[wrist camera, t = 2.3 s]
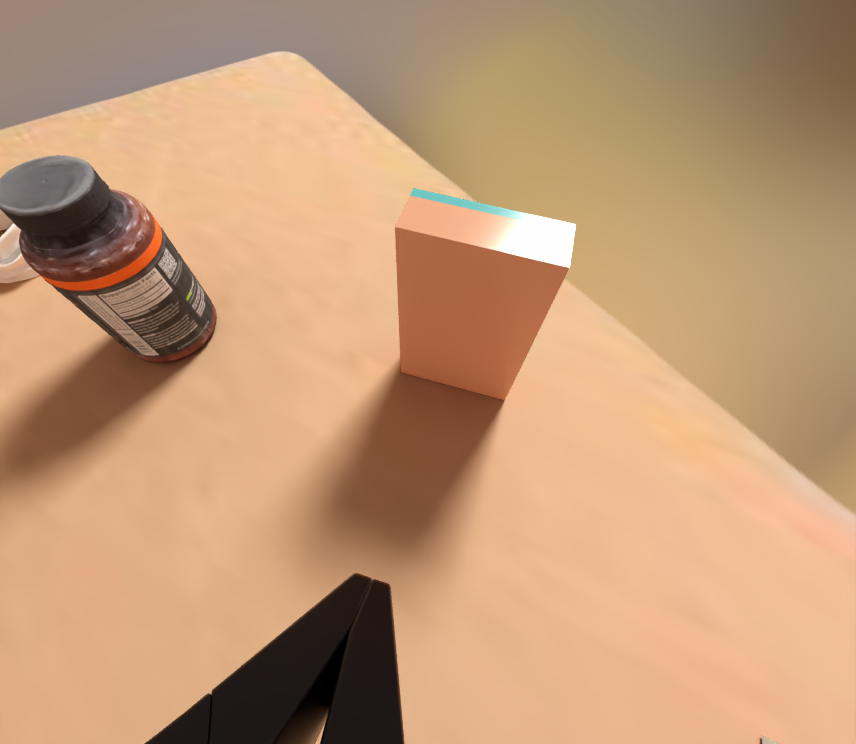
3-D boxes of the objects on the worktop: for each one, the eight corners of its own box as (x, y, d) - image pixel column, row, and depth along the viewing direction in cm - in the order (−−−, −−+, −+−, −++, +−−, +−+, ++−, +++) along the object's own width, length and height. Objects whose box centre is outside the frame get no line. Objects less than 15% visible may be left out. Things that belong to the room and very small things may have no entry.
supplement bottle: (120, 313, 28) (-38, 158, 18) (208, 283, 30) (106, 127, 20) (136, 380, 26) (-38, 245, 16) (230, 344, 27) (127, 200, 17)
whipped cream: (93, 221, 34) (53, 163, 30) (89, 273, 30) (44, 215, 26) (-25, 239, 31) (-85, 179, 27) (-44, 297, 28) (-116, 237, 24)
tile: (504, 400, 26) (569, 267, 15) (401, 372, 27) (394, 226, 16) (511, 368, 27) (575, 224, 17) (412, 342, 28) (413, 187, 17)
